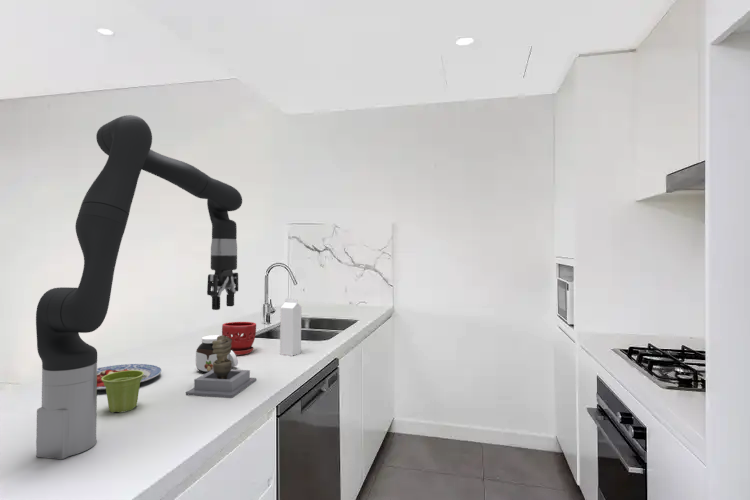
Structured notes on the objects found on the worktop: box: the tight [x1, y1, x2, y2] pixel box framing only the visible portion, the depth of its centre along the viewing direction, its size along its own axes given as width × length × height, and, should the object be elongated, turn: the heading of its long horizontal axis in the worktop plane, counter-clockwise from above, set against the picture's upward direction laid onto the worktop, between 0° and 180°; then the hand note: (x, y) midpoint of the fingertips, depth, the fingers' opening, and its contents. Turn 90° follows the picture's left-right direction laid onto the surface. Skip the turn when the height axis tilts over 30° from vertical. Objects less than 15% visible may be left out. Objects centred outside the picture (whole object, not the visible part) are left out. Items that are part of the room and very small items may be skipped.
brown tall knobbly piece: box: [212, 334, 232, 379], centre depth 124 cm, size 6×6×15 cm
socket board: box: [185, 368, 257, 399], centre depth 125 cm, size 16×14×4 cm
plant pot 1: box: [101, 370, 144, 413], centre depth 107 cm, size 9×9×9 cm
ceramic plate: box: [97, 363, 162, 391], centre depth 130 cm, size 26×26×3 cm
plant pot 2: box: [221, 321, 257, 356], centre depth 167 cm, size 13×13×12 cm
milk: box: [279, 298, 302, 357], centre depth 167 cm, size 6×6×22 cm
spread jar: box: [195, 334, 239, 375], centre depth 143 cm, size 12×11×12 cm
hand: (223, 307), depth 125 cm, fingers open, 8 cm apart
